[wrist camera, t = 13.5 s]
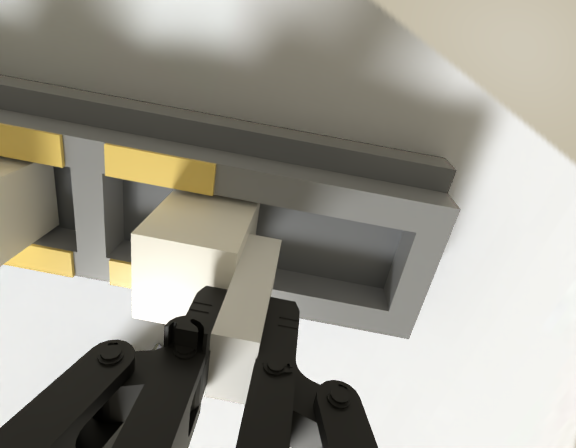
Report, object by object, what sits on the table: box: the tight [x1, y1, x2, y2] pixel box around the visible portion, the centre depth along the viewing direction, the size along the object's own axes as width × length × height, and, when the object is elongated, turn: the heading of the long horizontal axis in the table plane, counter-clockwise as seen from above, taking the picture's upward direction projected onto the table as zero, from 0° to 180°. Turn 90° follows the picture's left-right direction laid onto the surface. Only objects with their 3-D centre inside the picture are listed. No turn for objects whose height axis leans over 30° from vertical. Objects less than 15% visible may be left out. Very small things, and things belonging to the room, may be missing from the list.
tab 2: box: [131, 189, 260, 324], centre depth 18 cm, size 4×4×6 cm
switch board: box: [0, 75, 460, 339], centre depth 21 cm, size 34×10×4 cm, turn 81°
